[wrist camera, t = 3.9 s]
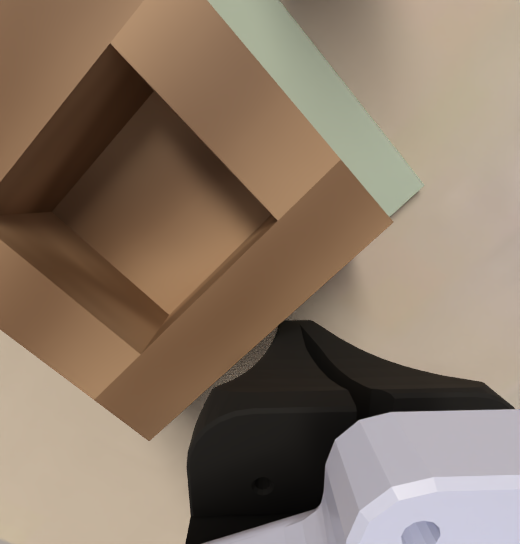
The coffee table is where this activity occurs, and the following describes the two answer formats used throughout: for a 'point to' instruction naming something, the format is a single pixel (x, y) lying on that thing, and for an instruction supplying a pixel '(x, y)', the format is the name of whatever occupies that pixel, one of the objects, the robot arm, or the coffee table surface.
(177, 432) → the coffee table surface
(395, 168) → the sage rubber mat
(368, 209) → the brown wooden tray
